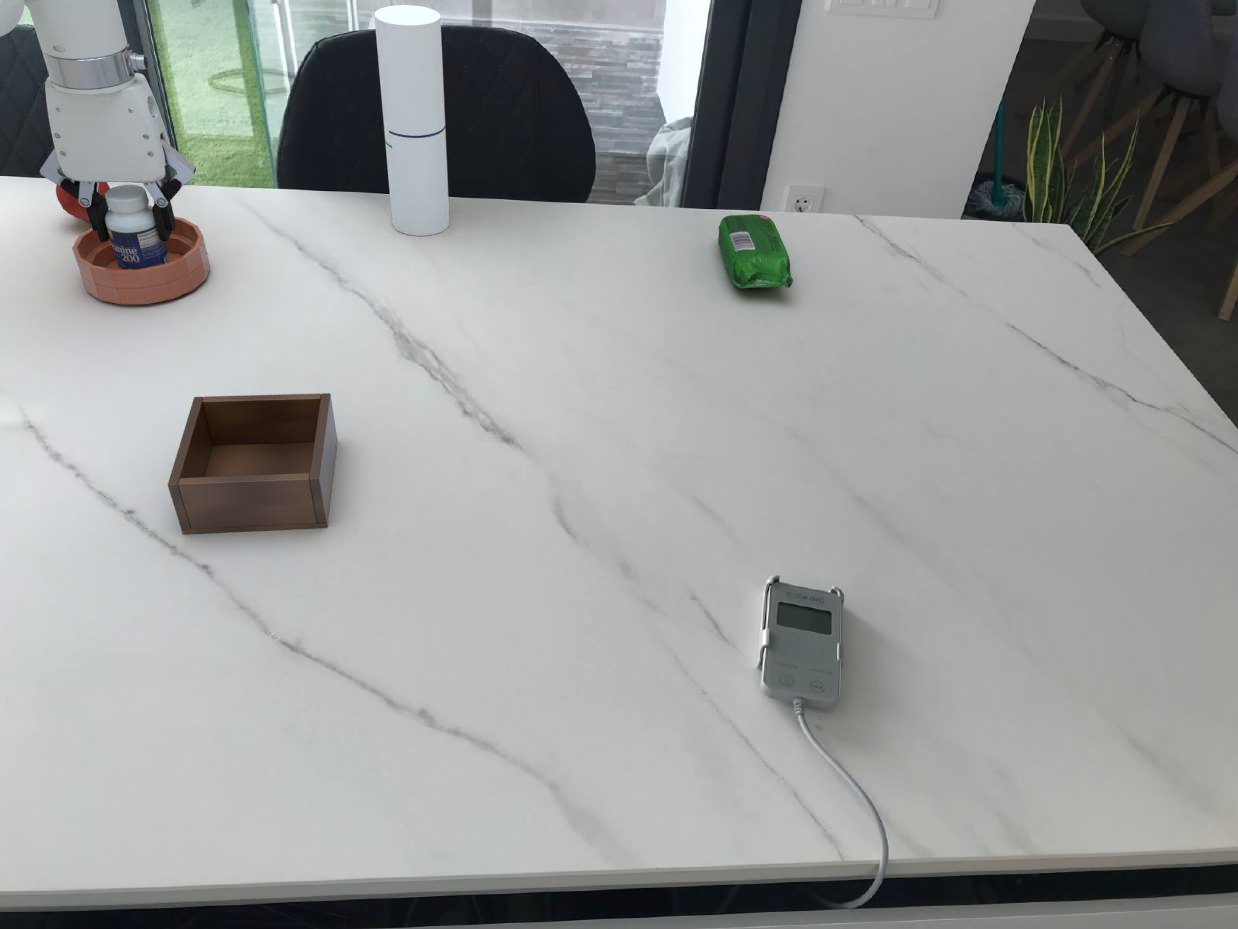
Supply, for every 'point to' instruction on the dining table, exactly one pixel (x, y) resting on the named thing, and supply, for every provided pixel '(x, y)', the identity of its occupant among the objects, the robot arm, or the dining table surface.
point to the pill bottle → (133, 229)
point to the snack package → (754, 252)
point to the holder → (255, 463)
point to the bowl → (148, 282)
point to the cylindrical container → (413, 117)
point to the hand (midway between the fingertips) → (136, 234)
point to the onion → (77, 201)
